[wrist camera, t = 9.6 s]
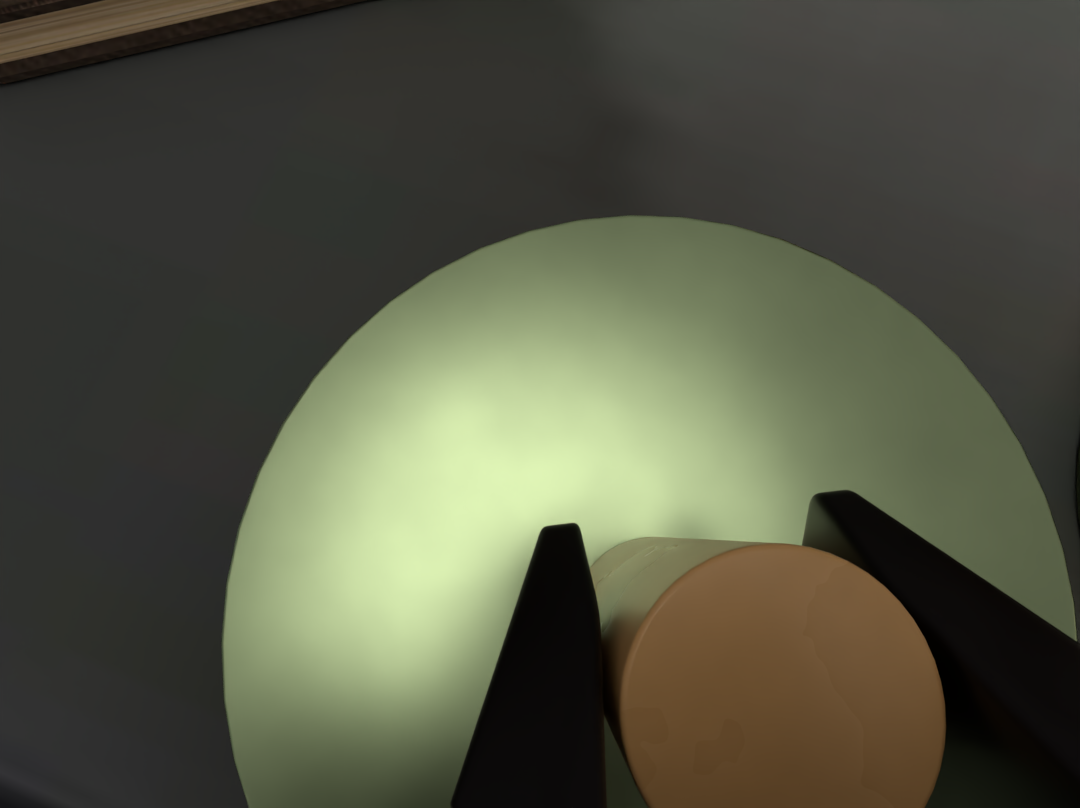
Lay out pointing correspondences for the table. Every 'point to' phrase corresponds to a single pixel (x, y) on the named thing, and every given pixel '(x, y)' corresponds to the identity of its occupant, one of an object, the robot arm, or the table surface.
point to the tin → (1078, 485)
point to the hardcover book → (122, 28)
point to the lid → (621, 524)
